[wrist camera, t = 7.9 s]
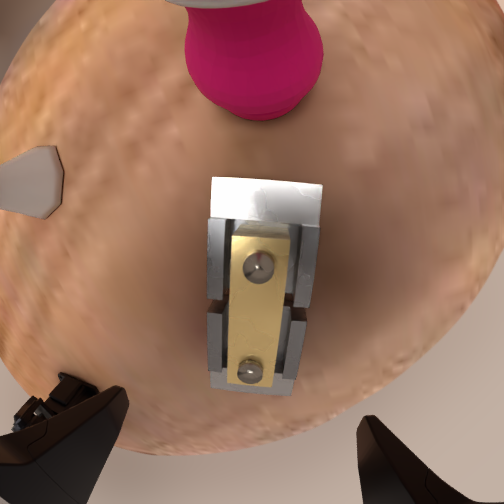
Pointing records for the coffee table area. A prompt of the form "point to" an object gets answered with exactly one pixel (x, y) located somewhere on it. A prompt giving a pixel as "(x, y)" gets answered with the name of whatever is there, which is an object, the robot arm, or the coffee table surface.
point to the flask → (32, 182)
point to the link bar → (256, 302)
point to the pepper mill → (252, 54)
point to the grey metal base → (298, 273)
